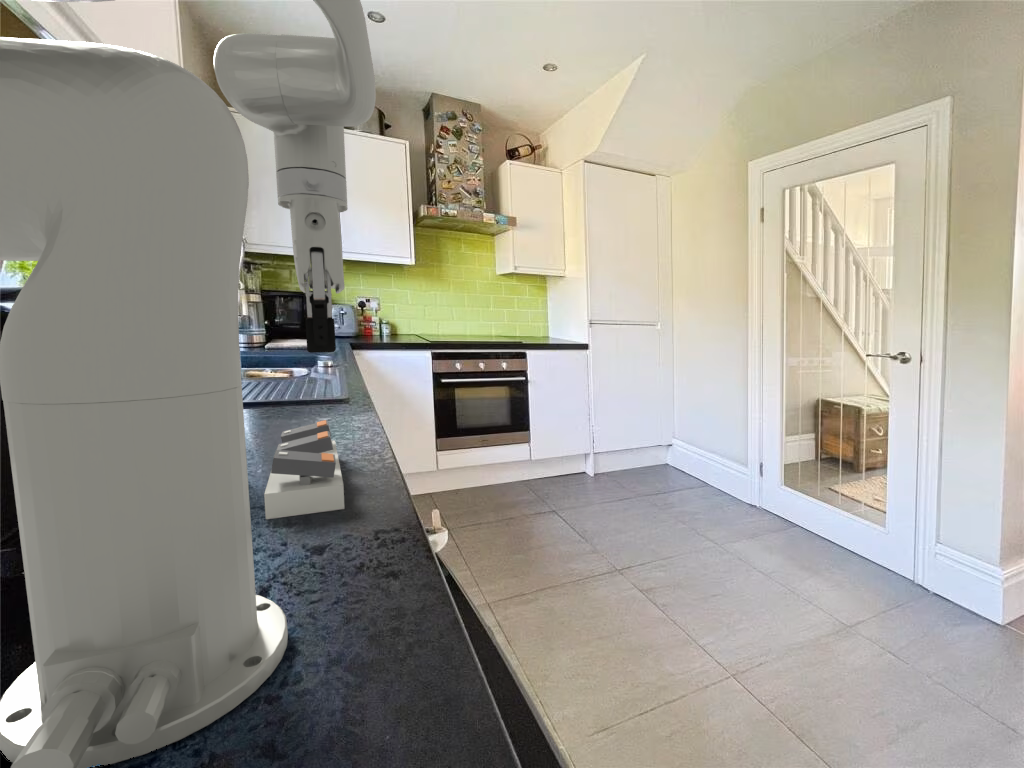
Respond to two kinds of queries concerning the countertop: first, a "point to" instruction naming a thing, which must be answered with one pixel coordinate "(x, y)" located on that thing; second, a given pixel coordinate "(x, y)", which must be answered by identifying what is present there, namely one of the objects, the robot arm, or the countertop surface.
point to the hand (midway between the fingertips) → (321, 351)
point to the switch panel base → (304, 493)
